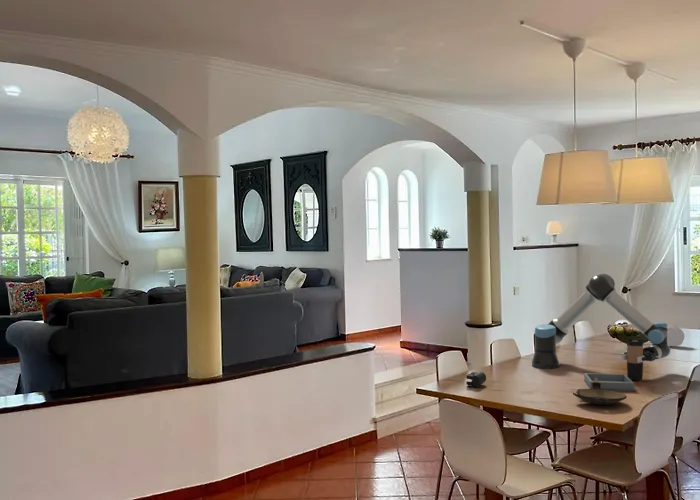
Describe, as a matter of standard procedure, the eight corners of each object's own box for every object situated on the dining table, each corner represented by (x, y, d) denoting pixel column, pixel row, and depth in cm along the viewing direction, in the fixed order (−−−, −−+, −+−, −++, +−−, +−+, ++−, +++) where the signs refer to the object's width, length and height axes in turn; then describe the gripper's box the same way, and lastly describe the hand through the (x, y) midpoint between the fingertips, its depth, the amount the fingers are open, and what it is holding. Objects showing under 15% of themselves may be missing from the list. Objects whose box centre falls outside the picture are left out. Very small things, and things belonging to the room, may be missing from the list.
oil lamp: (566, 406, 286) (565, 388, 285) (586, 392, 310) (586, 376, 309) (618, 413, 272) (618, 395, 272) (635, 398, 296) (635, 382, 296)
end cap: (479, 389, 319) (479, 375, 318) (466, 387, 322) (465, 374, 322) (486, 385, 327) (486, 372, 327) (473, 383, 331) (473, 370, 331)
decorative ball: (656, 346, 430) (656, 324, 430) (664, 344, 439) (664, 322, 439) (680, 349, 419) (680, 326, 419) (687, 346, 428) (687, 324, 428)
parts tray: (590, 389, 314) (590, 381, 314) (584, 380, 333) (584, 373, 333) (634, 391, 310) (634, 383, 310) (625, 382, 329) (625, 374, 329)
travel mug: (636, 380, 329) (636, 342, 328) (623, 377, 335) (623, 339, 335) (646, 379, 332) (646, 340, 332) (633, 376, 339) (633, 338, 338)
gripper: (670, 362, 337) (649, 369, 323) (632, 357, 353) (611, 362, 338) (670, 348, 337) (649, 354, 323) (632, 343, 353) (611, 348, 338)
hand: (630, 358), depth 330 cm, fingers closed on travel mug, 7 cm apart
